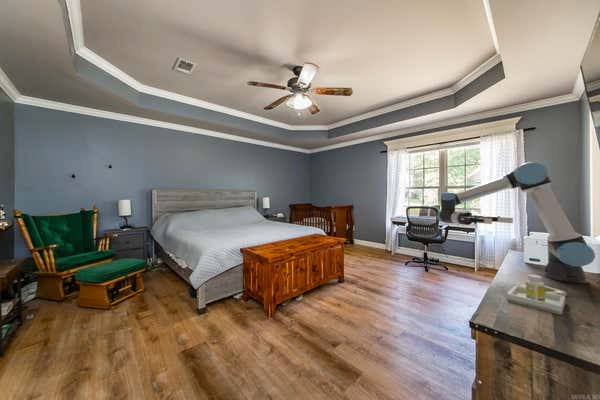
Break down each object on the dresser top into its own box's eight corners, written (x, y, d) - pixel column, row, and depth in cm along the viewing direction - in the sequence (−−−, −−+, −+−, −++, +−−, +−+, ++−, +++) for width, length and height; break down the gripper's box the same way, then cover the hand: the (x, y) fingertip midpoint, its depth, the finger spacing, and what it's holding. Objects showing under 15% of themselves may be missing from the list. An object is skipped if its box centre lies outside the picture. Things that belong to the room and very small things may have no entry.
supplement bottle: (544, 299, 93) (544, 275, 93) (545, 303, 89) (545, 279, 89) (525, 295, 97) (525, 272, 97) (526, 299, 93) (525, 276, 93)
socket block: (536, 286, 110) (536, 283, 110) (567, 295, 99) (567, 292, 99) (519, 288, 107) (519, 285, 107) (549, 298, 96) (549, 294, 96)
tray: (514, 292, 103) (514, 285, 103) (565, 303, 91) (565, 296, 91) (507, 300, 94) (506, 293, 94) (561, 314, 82) (561, 306, 82)
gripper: (479, 223, 136) (520, 227, 115) (445, 225, 130) (482, 229, 109) (478, 211, 136) (520, 213, 115) (444, 212, 130) (482, 213, 109)
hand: (502, 220), depth 112 cm, fingers open, 13 cm apart
